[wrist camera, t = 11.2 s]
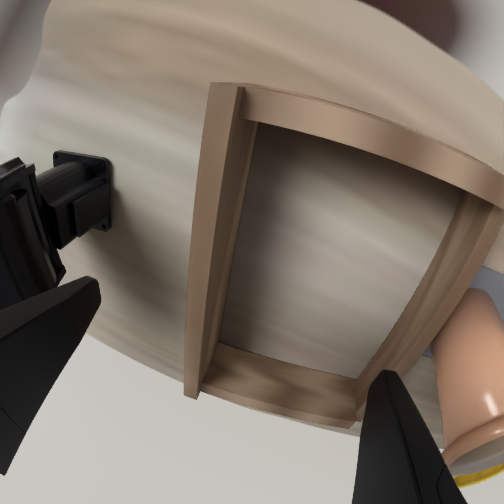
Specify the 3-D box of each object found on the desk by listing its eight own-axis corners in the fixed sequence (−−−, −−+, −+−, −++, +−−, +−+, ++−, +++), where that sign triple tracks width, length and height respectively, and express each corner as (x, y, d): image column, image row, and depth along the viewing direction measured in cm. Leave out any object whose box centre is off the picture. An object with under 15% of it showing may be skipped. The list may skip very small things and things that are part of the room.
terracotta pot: (407, 340, 23) (418, 478, 12) (450, 274, 19) (500, 425, 8) (466, 354, 22) (489, 473, 12) (510, 296, 18) (562, 422, 8)
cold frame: (205, 348, 29) (183, 395, 24) (246, 83, 16) (210, 82, 11) (360, 389, 28) (359, 439, 23) (489, 165, 15) (536, 199, 10)
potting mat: (398, 348, 24) (398, 350, 24) (455, 255, 18) (457, 258, 18) (475, 363, 23) (476, 365, 23) (532, 286, 17) (534, 288, 17)
